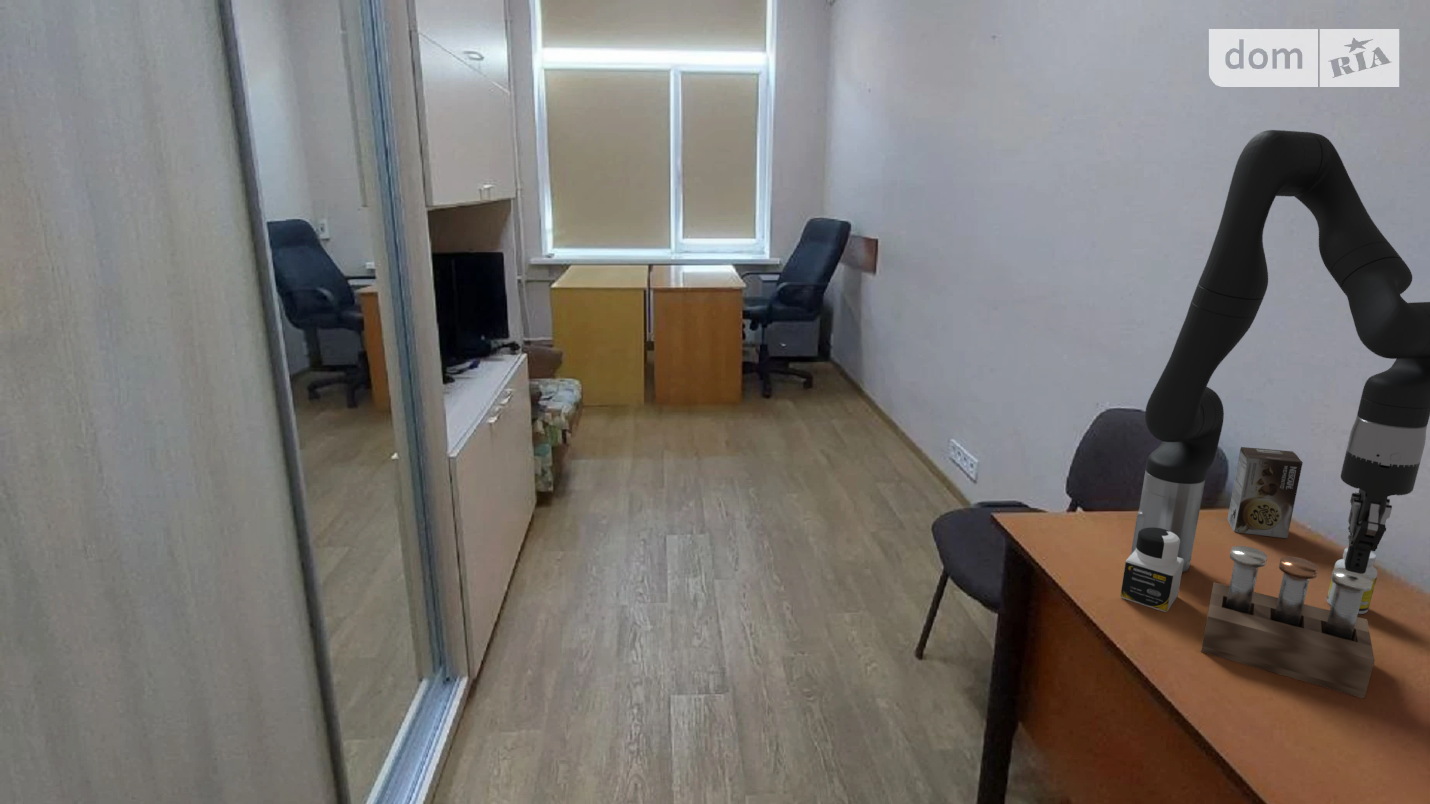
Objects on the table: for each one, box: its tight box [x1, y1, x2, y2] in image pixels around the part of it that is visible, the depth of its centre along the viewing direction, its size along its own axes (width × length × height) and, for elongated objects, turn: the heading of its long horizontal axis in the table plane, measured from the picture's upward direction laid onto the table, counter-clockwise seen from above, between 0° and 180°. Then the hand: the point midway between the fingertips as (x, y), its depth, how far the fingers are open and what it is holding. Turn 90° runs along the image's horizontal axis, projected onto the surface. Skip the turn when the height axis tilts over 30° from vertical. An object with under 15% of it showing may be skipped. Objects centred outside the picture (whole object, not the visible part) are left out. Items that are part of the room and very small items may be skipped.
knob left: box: [1225, 545, 1268, 614], centre depth 115 cm, size 4×4×10 cm
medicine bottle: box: [1119, 527, 1184, 613], centre depth 128 cm, size 7×7×12 cm
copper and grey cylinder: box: [1273, 556, 1319, 627], centre depth 112 cm, size 4×4×10 cm
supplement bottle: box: [1326, 546, 1378, 615], centre depth 125 cm, size 5×5×10 cm
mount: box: [1200, 581, 1375, 699], centre depth 114 cm, size 19×12×6 cm, turn 55°
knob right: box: [1324, 568, 1373, 640], centre depth 108 cm, size 4×4×10 cm
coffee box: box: [1226, 446, 1304, 539], centre depth 152 cm, size 9×6×16 cm
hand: (1354, 570), depth 107 cm, fingers closed
